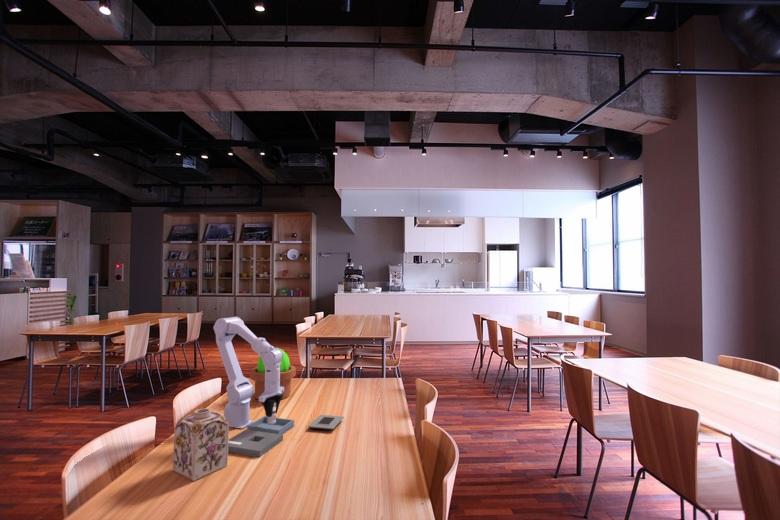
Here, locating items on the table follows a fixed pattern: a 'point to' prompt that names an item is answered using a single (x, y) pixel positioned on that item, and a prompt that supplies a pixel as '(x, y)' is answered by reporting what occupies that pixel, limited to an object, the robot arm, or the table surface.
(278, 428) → the tray
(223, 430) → the decorative jar
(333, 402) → the table surface
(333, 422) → the electrical outlet
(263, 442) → the light bulb socket board
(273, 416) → the white light bulb
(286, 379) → the potted cactus
